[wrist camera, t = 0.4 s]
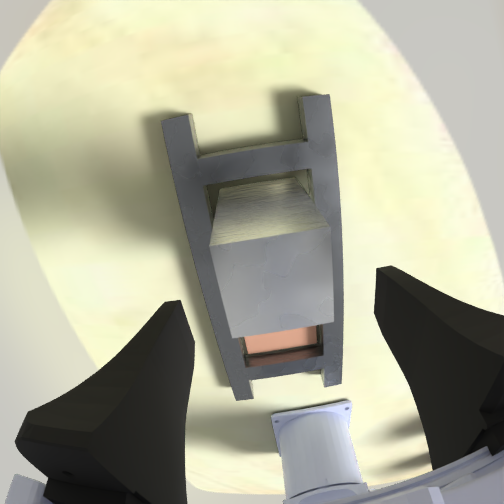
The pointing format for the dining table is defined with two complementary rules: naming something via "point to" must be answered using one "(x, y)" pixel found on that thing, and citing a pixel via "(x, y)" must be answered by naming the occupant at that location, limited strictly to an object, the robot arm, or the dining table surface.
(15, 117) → the dining table surface
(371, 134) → the dining table surface
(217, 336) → the rail
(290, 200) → the steel peg
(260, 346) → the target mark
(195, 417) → the dining table surface
